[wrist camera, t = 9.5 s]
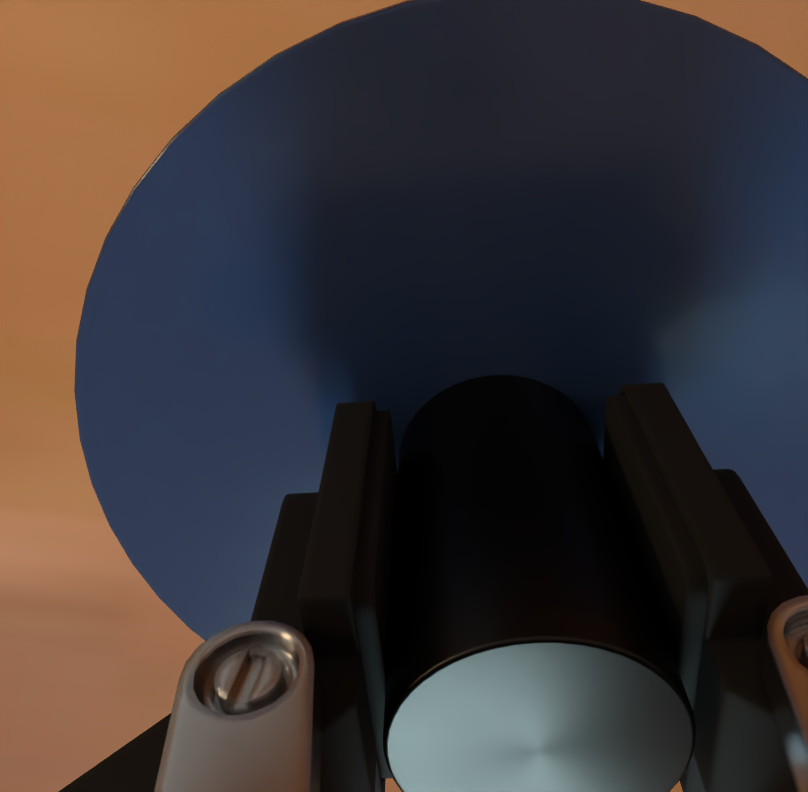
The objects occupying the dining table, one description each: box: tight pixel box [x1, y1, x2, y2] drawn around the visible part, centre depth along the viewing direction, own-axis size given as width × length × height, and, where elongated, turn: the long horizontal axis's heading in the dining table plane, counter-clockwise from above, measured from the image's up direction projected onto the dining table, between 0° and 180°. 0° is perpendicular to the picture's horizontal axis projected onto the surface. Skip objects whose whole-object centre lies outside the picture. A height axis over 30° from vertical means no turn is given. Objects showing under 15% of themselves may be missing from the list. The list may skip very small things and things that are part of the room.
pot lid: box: [75, 0, 808, 792], centre depth 10 cm, size 13×13×6 cm
